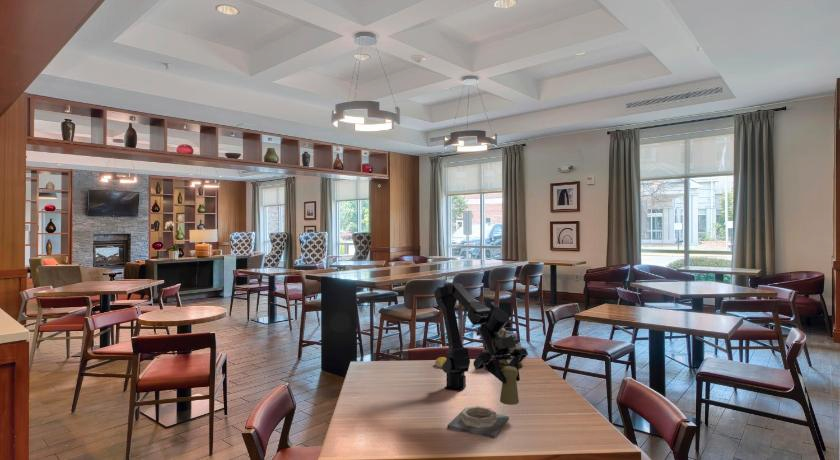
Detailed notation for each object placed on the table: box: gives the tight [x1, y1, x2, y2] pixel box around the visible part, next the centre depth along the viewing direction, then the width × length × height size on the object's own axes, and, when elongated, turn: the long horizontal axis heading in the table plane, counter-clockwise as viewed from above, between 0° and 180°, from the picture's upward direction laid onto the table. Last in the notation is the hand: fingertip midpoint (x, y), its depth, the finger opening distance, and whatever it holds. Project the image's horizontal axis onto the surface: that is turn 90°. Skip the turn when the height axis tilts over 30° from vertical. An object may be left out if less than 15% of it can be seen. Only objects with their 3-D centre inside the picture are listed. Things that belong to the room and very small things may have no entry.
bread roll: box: [434, 356, 447, 369], centre depth 210 cm, size 8×9×4 cm
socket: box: [446, 405, 510, 439], centre depth 148 cm, size 15×15×4 cm
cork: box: [499, 366, 520, 406], centre depth 151 cm, size 6×6×11 cm
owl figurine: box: [481, 327, 523, 370], centre depth 210 cm, size 18×12×17 cm, turn 93°
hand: (512, 382), depth 150 cm, fingers closed on cork, 5 cm apart
